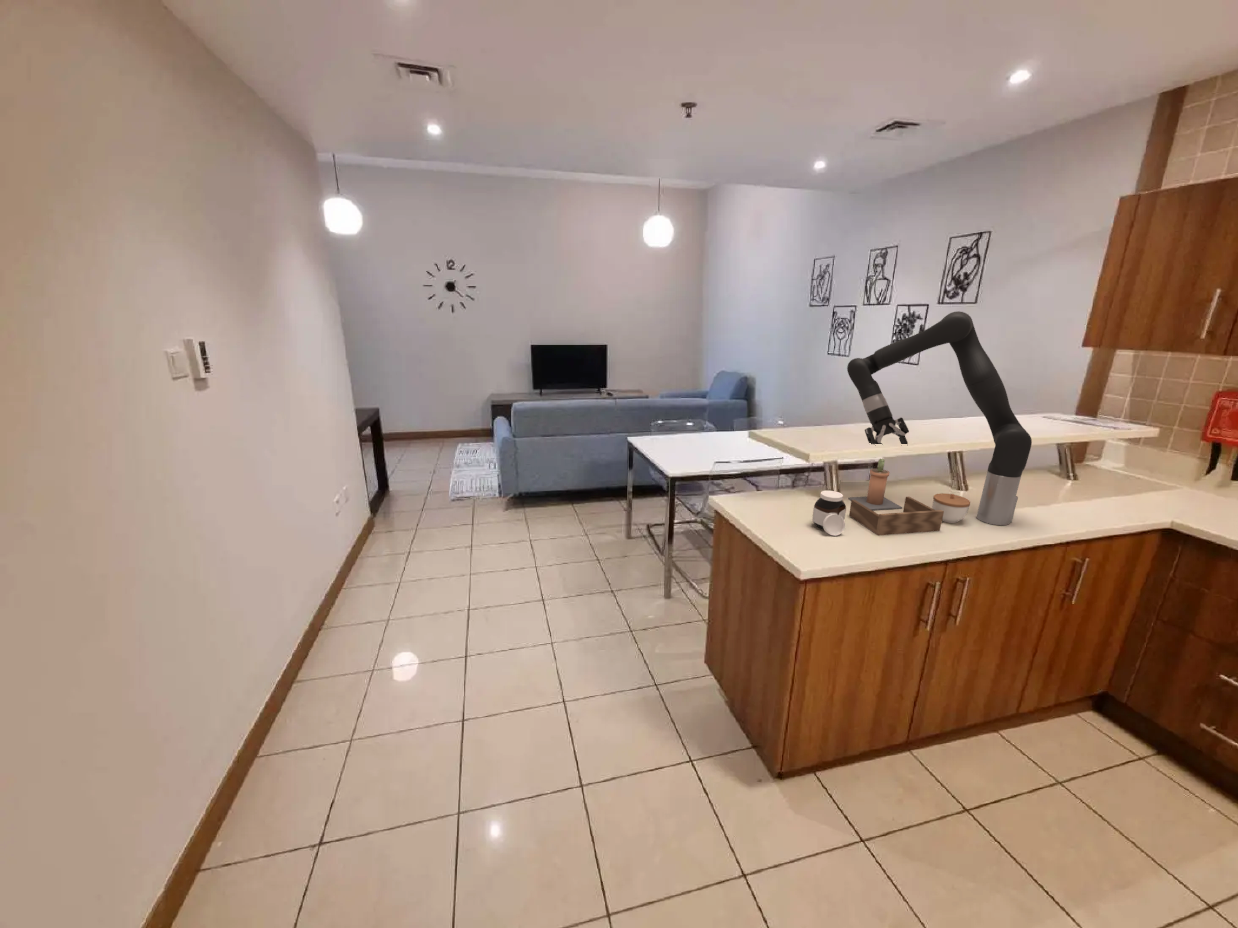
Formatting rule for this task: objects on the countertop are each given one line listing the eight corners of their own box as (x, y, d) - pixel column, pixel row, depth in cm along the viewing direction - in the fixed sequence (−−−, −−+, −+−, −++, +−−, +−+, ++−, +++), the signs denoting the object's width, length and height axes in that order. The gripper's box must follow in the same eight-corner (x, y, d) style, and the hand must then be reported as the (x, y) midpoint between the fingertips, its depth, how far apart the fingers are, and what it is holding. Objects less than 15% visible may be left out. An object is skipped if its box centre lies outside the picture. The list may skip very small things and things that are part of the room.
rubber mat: (880, 496, 194) (881, 495, 194) (902, 508, 183) (902, 507, 183) (847, 498, 192) (848, 497, 192) (867, 510, 181) (867, 509, 181)
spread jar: (828, 519, 174) (832, 487, 170) (856, 531, 164) (861, 498, 161) (803, 526, 168) (807, 493, 165) (831, 539, 159) (836, 505, 155)
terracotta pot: (876, 498, 191) (884, 455, 186) (887, 504, 185) (895, 460, 180) (861, 499, 190) (868, 456, 185) (872, 505, 184) (879, 461, 179)
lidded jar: (932, 510, 181) (937, 486, 178) (967, 518, 175) (973, 493, 172) (926, 520, 173) (932, 495, 170) (963, 528, 167) (969, 502, 164)
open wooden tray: (905, 512, 180) (909, 493, 178) (939, 530, 165) (944, 511, 163) (849, 515, 177) (851, 497, 175) (878, 535, 162) (881, 515, 159)
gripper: (863, 411, 179) (881, 453, 176) (900, 400, 179) (918, 441, 177) (854, 417, 186) (870, 457, 183) (889, 406, 187) (906, 446, 184)
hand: (894, 450), depth 180 cm, fingers open, 8 cm apart
